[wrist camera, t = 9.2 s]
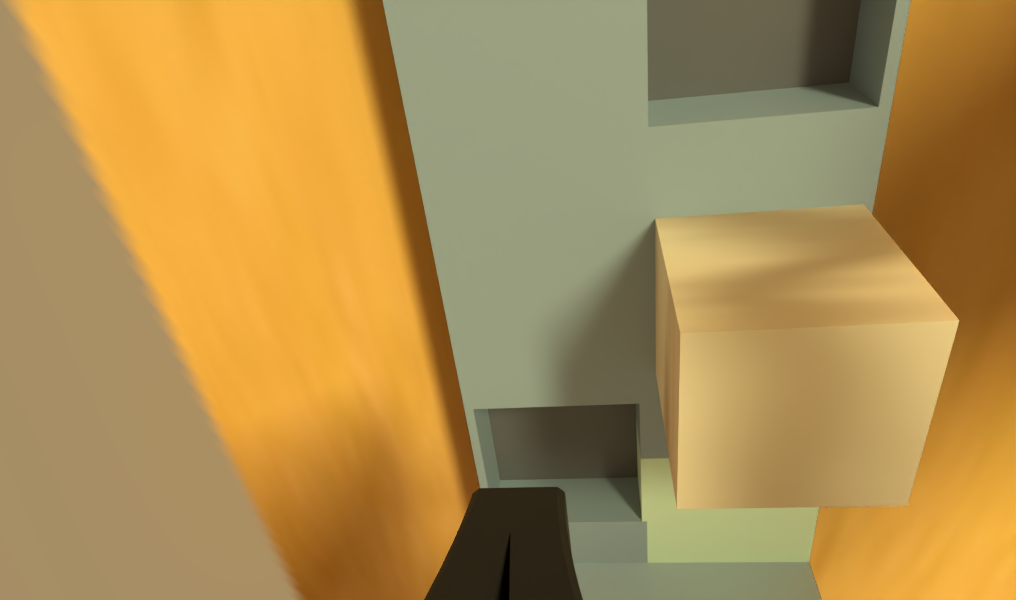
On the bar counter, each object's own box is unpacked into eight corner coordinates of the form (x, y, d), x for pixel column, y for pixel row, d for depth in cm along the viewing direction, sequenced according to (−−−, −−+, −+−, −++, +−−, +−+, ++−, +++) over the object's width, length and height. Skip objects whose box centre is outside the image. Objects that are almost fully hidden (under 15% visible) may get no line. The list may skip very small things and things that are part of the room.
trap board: (905, -236, 13) (1045, -274, 9) (790, 526, 24) (830, 653, 20) (377, -159, 14) (304, -162, 10) (503, 530, 25) (490, 649, 21)
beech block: (864, 204, 15) (959, 320, 11) (835, 366, 18) (907, 505, 14) (655, 218, 16) (680, 333, 12) (655, 373, 18) (676, 509, 14)
